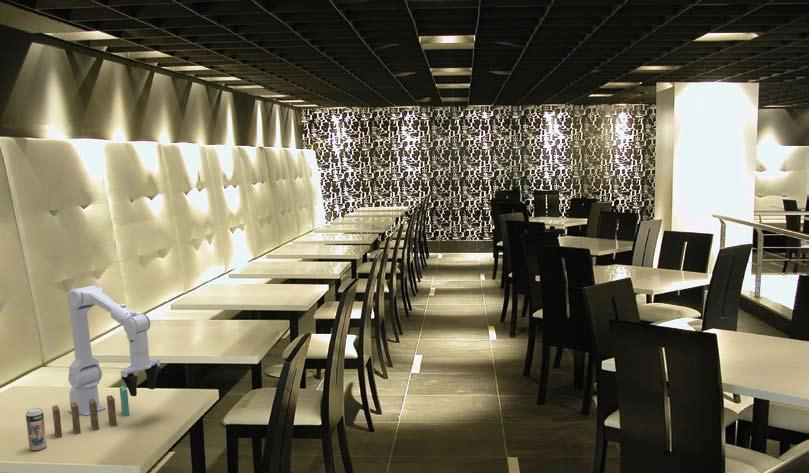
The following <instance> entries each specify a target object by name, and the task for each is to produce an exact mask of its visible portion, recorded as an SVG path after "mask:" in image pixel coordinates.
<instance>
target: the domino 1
mask: <svg viewBox="0 0 809 473" xmlns="http://www.w3.org/2000/svg"><path fill="white" fill-rule="evenodd" d="M51 408H52V419H53V428H54V435H55V437H56V438H55V439H60V438H63V433H62V431H63V430H62V420H61V413H60V412H61V410H60V408H59V405H57V404H55V405H52V406H51Z"/></svg>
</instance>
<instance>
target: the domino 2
mask: <svg viewBox="0 0 809 473" xmlns="http://www.w3.org/2000/svg"><path fill="white" fill-rule="evenodd" d="M70 410H71V411H72V412H71V421H72V429H73V432H74V435H79V434H81V423H80V420H81V419H80V414H79V409H78V405H77V403H76V402H72V403H71V407H70Z"/></svg>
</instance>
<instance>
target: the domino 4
mask: <svg viewBox="0 0 809 473" xmlns="http://www.w3.org/2000/svg"><path fill="white" fill-rule="evenodd" d="M115 400H116V399H115V398H114V396H113V395H112V394H111V395H107V396H106V404H107V414H108V415H107V416H108V423H109V425H110V426H111V428H113V427H118V423H117V412H116V411H117V410H116V401H115Z"/></svg>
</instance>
